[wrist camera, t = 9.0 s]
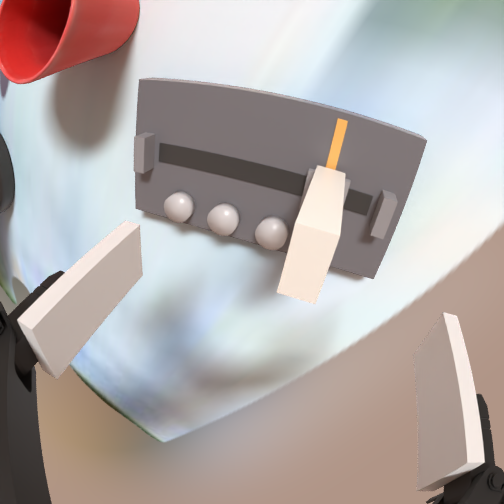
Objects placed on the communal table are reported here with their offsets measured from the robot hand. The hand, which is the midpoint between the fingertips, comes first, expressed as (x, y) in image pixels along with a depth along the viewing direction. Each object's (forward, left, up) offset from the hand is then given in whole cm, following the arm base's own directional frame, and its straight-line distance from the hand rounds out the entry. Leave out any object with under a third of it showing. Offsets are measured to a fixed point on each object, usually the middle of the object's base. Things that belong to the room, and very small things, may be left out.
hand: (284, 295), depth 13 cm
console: (-5, 0, -14) cm, 15 cm away
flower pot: (-22, +12, -15) cm, 29 cm away
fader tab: (0, 0, -12) cm, 12 cm away
